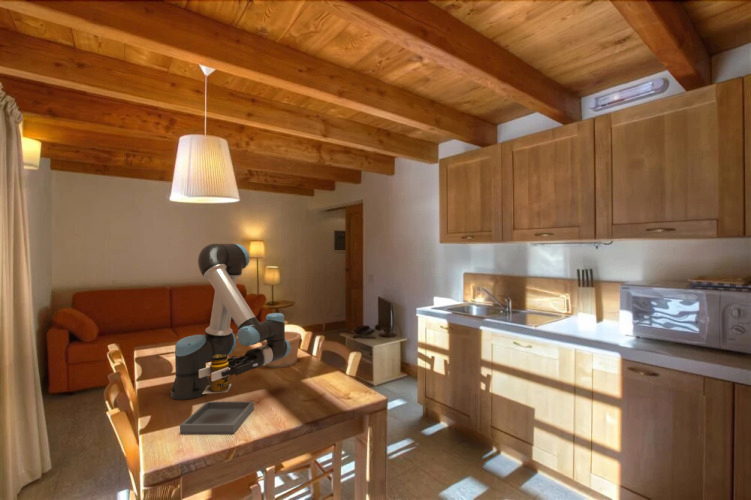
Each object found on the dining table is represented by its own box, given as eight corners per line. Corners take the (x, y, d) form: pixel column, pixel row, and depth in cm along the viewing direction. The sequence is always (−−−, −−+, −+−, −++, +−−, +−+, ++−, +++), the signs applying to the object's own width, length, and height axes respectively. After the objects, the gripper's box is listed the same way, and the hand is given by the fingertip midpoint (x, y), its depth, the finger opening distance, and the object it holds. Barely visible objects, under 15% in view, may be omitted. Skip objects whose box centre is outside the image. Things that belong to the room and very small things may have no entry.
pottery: (298, 354, 204) (297, 329, 204) (304, 366, 183) (303, 338, 183) (258, 359, 196) (258, 333, 196) (260, 372, 175) (260, 343, 175)
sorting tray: (179, 434, 117) (179, 425, 117) (207, 409, 135) (207, 401, 135) (233, 434, 116) (233, 425, 116) (253, 409, 134) (253, 401, 134)
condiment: (227, 392, 123) (227, 357, 123) (201, 394, 121) (201, 359, 121) (231, 384, 130) (231, 351, 130) (207, 386, 128) (206, 353, 128)
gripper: (275, 370, 137) (224, 391, 116) (242, 362, 146) (188, 381, 126) (275, 350, 136) (223, 368, 116) (241, 344, 146) (188, 360, 126)
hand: (205, 375), depth 121 cm, fingers closed on condiment, 6 cm apart
